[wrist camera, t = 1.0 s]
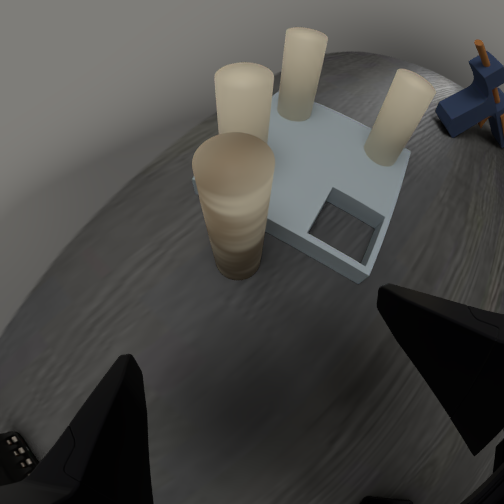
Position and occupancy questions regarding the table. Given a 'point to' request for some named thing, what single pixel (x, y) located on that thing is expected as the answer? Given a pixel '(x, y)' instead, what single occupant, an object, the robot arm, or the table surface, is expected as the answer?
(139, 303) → the table surface
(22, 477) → the battery charger
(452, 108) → the glue gun
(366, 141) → the stool seat
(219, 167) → the loose leg
